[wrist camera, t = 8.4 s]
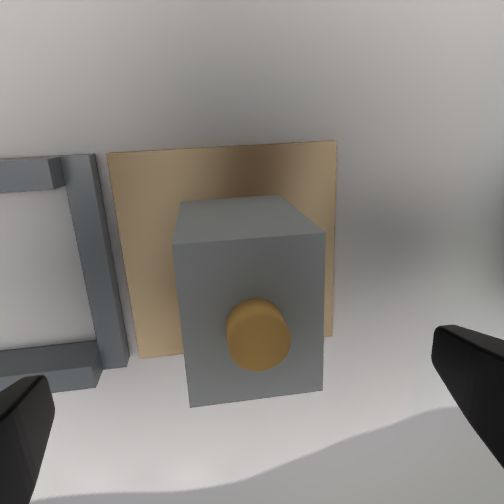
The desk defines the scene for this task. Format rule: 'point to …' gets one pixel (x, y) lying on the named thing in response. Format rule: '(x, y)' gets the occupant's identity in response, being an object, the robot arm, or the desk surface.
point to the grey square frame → (94, 269)
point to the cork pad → (202, 188)
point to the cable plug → (249, 298)
